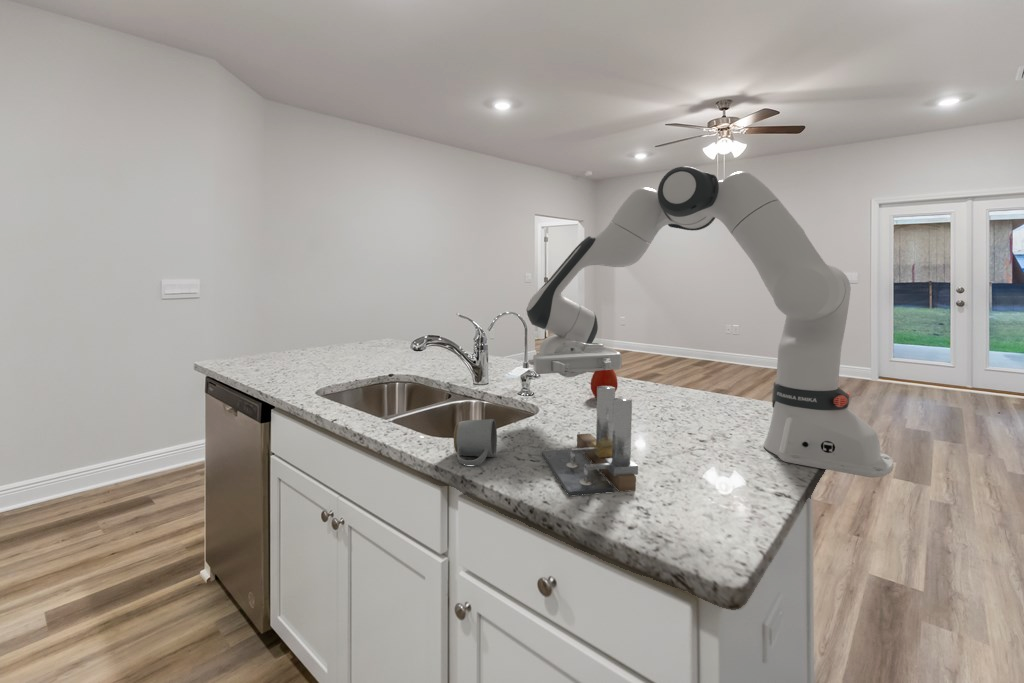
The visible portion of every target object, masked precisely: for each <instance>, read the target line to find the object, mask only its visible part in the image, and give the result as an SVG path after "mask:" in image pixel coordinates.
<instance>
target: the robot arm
mask: <svg viewBox="0 0 1024 683" xmlns="http://www.w3.org/2000/svg"><path fill="white" fill-rule="evenodd" d="M716 219H717V220H719V221H720V222H721V223H722V224H723V225H724V226H725V228H726V229H727V231H728V232H729V233H730V234H731V236H732V237H733V238H734V239H735V241H736V242H737V243H738V245H739V246H740V247H741V249H742V250H743V251H744V253H745V254H746V256H748V258H749V259H750V261H751V263H753V265H754V267H755V269H756V270H757V272H758V274H759V276H760V278H761V280H762V282H763V284H764V286H765V287H766V289H767V291H768V292H769V294H770V296H771V297H772V299H773V303H774V304H775V306H776V307H777V309H778V310H779V311H780V312H781V313H782V314H784V315H785V320H784V326H783V330H782V334H781V338H780V341H779V343H778V348H777V349H778V350H777V362H776V363H777V364H776V379H775V380H776V381H775V382H773V388H772V393H771V394H772V395H771V403H772V409H773V410H772V415H771V420H770V424H769V428H768V431H767V435H766V437H765V440H764V441H763V447H764V448H765V450H767V451H768V452H770V453H772V454H774V455H776V456H777V457H778V458H779V459H780V460H781V461H783V462H785V463H788V464H789V463H790V464H795V465H801V466H804V467H805V466H806V467H811V468H816V469H822V470H827V471H833V472H839V473H845V474H849V475H854V476H855V475H856V476H860V477H865V478H873V479H874V478H881V477H885V476H887V475H889V474H890V473H891V472H892V471H893V469H894V460H893V458H892V457H891V456H890V455H888V454H886V453H882V452H881V442H880V439H879V435H878V433H877V431H876V430H875V429H874V428H873V427H872V426H871V425H869V424H868V423H867V422H866V421H865V420H863V419H862V418H861V417H859V415H857V414H856V413H854V412H853V411H852V410H851V409H849V405H850V395H851V393H850V392H849V391H848V392H846V391H844V390H843V389H841V388H840V387H839V378H840V369H841V368H840V367H841V356H842V354H841V353H842V347H843V346H842V345H843V341H844V336H845V330H846V325H847V319H848V313H849V306H850V297H851V288H852V287H851V284H850V283H851V282H850V280H849V278H848V276H847V275H846V273H844V271H843V270H841V269H839V268H838V267H835V266H833V265H829V264H827V263H826V261H824V259H823V258H822V256H821V255H820V254H819V252H818V251H817V249H816V248H815V246H814V245H813V243H812V242H811V240H810V238H809V237H808V236H807V234H806V232H805V229H803V227H802V226H801V225H800V224H799V223H798V221H797V220H796V219H795V218H794V216H793V215H792V214H791V213H790V212H789V210H788V209H787V208H786V207H785V205H784V204H783V203H782V202H781V200H780V199H779V198H778V196H776V195H775V194H774V192H773V191H772V190H771V189H770V188H769V187H767V186H766V185H765V183H764V182H762V181H761V180H760V179H758V178H757V177H756V176H755V175H753V174H752V173H750V172H748V171H736V172H733V173H730V174H729V175H728V176H726V177H725V178H723V179H721V180H719V179H718V178H717V176H716V175H715V174H713V173H710V172H706V171H704V170H701V169H698V168H695V167H692V166H678V167H675V168H672V169H670V171H667V173H666V174H665V175H663V177H662V178H661V180H660V181H659V184H658V188H657V190H656V189H653V188H650V187H639V188H636V189H635V190H633V191H632V192H631V194H629V196H628V197H627V198H626V199H625V200H624V202H623V203H622V204H621V205H620V207H619V208H618V210H617V211H616V213H615V214H614V216H613V217H612V219H611V221H610V222H609V223H608V225H607V227H606V228H605V229H604V230H602V231H601V232H600V233H598V234H597V235H593V236H592V235H590V236H587V237H585V238H584V239H582V241H580V243H578V245H577V246H576V247H575V248H574V249H573V251H572V252H571V253H570V254H569V255H568V256H567V257H566V258H565V260H564V261H563V262H562V264H560V266H559V267H558V268H557V269H556V270H555V271H554V273H553V274H552V275H551V277H550V278H549V279H548V280H547V281H546V282H545V283H544V284H543V285H542V286H541V287H540V288H539V289H538V291H536V293H535V294H533V296H532V297H531V298H530V300H529V301H528V304H527V307H526V314H527V317H528V318H527V319H528V320H529V321H530V324H531V325H533V326H535V327H537V328H540V329H542V330H546V331H548V332H549V333H552V335H550V336H547V337H546V338H544V339H543V340H542V341H541V343H540V345H539V349H538V351H539V353H537V354H534V355H533V357H532V359H528V362H527V363H528V364H529V365H531V366H533V371H534V373H535V374H539V375H546V374H559V375H560V376H562V377H565V378H574V377H577V376H580V375H583V374H586V373H594V372H595V371H599V370H611V369H613V370H619V369H621V368H622V363H623V362H622V360H623V359H622V353H621V352H620V351H618V350H616V349H613V348H610V347H606V346H605V344H603V343H601V342H600V343H597V342H594V340H595V338H596V336H597V334H598V329H599V327H598V326H599V325H598V319H597V315H596V313H595V312H594V311H592V310H590V309H589V308H587V307H585V306H583V305H582V304H579V303H578V302H575V301H573V300H571V299H569V298H568V297H566V296H564V295H563V294H562V293H563V291H564V290H565V289H567V286H568V285H569V284H570V283H571V282H572V281H573V280H574V279H575V277H576V276H578V273H579V272H580V271H582V270H583V269H585V268H587V267H589V266H602V267H603V266H604V267H609V268H610V267H612V268H624V267H625V268H626V267H630V266H632V265H634V264H636V263H637V262H639V261H640V260H641V258H642V257H643V256H644V255H645V253H646V252H647V250H648V248H649V247H650V245H651V244H652V242H653V240H654V239H655V237H656V235H657V234H658V233H659V231H660V230H661V229H662V228H663V227H665V226H667V225H668V227H670V228H674V229H681V230H685V231H700V230H704V229H705V228H707V227H709V226H710V225H711V224H713V222H714V220H716Z"/></svg>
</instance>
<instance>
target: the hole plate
mask: <svg viewBox="0 0 1024 683" xmlns="http://www.w3.org/2000/svg"><path fill="white" fill-rule="evenodd" d="M571 449H572V448H562V449H561V448H560V449H552V450H551V449H549V450H548V449H547V450H540V451H541V454H542V455H541V456H542V458H543V457H544V458H543V459H544V461H545V460H546V461H545V462H546V463H547V465H548V467H549V468H550V470H551V471H552V472H553V474H554V476H555V477H556V479H557V478H558V479H557V480H558V482H559V481H560V482H559V483H560V485H561V484H562V485H561V486H562V488H563V487H564V488H563V489H564V491H565V490H566V491H565V492H566V494H567V493H568V494H567V495H568V497H571V496H570V495H577V496H585V495H584V494H589V495H596V494H595V493H600V494H607V493H606V492H612V493H615V487H614V485H613V484H612V483H611V482H610V481H609V480H608V479H607V478H606V477H605V476H604V474H603V473H602V472H601V471H600V470H599V469H596V470H588V481H584V465H588V464H593V462H592V461H591V460H590V459H589V458H588V457H587V456H586V455H585V454H584V453H575V464H571ZM582 494H583V495H582Z"/></svg>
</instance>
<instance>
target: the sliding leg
mask: <svg viewBox="0 0 1024 683" xmlns="http://www.w3.org/2000/svg"><path fill="white" fill-rule="evenodd" d="M614 398H616V392H615V387H612V386H599V387H597V398H596V426H595V427H596V428H595V429H596V431H595V434H596V436H595V439H596V442H591V447H589V448H579V447H577V448H570V449H571V464H575V453H583V454H584V453H589V452H594V453H595V454H596V455H597V456H598V457H599V458H600V457H612V440H613V399H614Z"/></svg>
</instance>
